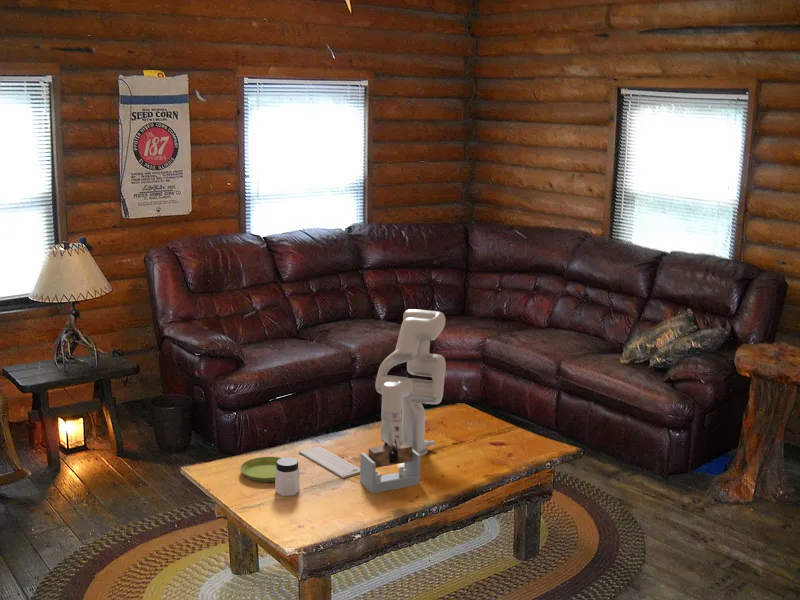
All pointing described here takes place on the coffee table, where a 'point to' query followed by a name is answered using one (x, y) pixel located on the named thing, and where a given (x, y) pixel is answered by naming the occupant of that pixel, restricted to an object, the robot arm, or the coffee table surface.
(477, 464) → the coffee table surface
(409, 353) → the robot arm
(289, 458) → the jar
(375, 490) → the peg frame
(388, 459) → the shelf board
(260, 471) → the saucer
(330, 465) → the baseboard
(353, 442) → the coffee table surface
